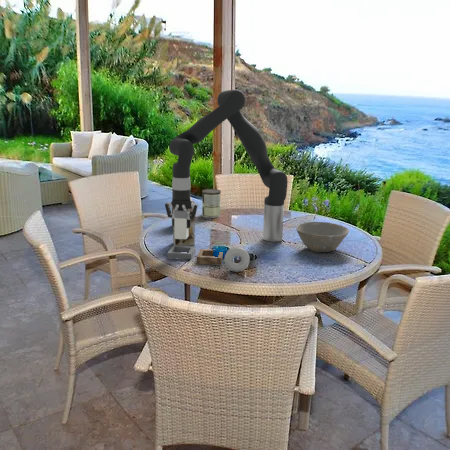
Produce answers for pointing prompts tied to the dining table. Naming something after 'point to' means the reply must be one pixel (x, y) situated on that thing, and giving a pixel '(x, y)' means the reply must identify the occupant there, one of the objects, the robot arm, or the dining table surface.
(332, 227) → the ceramic bowl
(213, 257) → the walnut socket
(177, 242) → the coffee box
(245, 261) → the donut
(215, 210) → the coffee can
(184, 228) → the plug block
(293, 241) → the dining table surface
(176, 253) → the grey square frame
